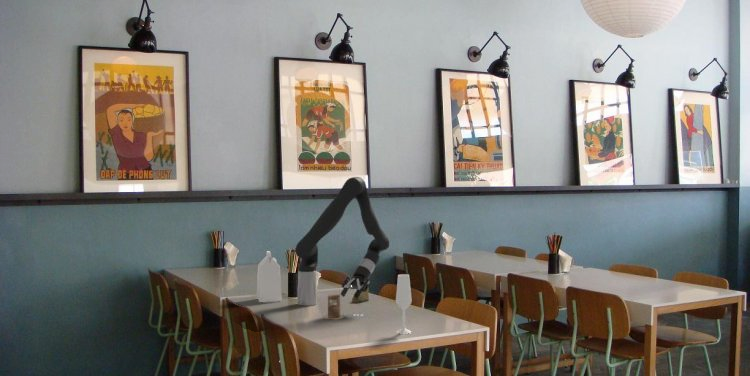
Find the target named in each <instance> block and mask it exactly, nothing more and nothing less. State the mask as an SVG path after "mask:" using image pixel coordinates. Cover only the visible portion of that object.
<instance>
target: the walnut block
mask: <svg viewBox="0 0 750 376" xmlns="http://www.w3.org/2000/svg"><path fill="white" fill-rule="evenodd" d="M327 316H328V318H339V317H340V316H341V294H328V296H327Z"/></svg>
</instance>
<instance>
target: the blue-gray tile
mask: <svg viewBox="0 0 750 376" xmlns="http://www.w3.org/2000/svg"><path fill="white" fill-rule="evenodd" d="M372 316H373V312H347V313H346V314H345V316H344V318H355V319H356V318H357V319H358V318H362V319H364V318H366V319H369V318H370V319H371V317H372Z"/></svg>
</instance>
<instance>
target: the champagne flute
mask: <svg viewBox="0 0 750 376" xmlns="http://www.w3.org/2000/svg"><path fill="white" fill-rule="evenodd" d="M396 281H397V284H396V293H395V303H396V305H397V306H398V307H399V308H400V309H401V310H402V315H401V316H402V317H401V318H402V327H401V328H400V329H399V330H396V332H395V333H396V334H399V333H400V335H407V334H408V333H409V334H412V333H411V332H412V331H411V330H410V329H407V328H406V310H407V308H409V307H410V306H411V304H412V301H413V299H412V289H411V280H410V274H407V273H406V274H405V273H404V274H403V273H401V274H398V275H397V280H396Z"/></svg>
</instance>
